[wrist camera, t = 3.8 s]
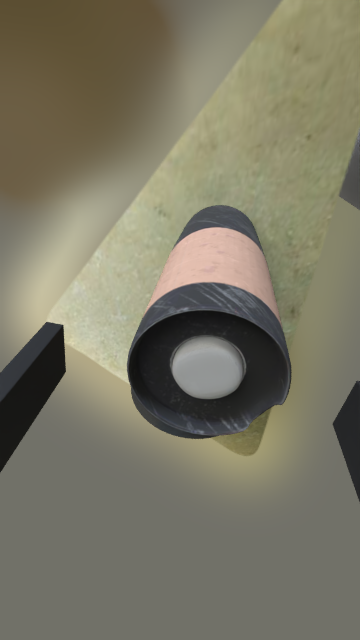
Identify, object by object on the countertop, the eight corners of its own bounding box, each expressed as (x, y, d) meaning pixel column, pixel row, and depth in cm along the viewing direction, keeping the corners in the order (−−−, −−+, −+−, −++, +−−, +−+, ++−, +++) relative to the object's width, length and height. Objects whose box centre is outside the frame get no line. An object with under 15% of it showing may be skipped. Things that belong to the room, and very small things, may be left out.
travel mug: (174, 206, 31) (106, 309, 14) (259, 197, 29) (300, 299, 12) (184, 281, 34) (140, 436, 17) (259, 276, 33) (291, 439, 16)
